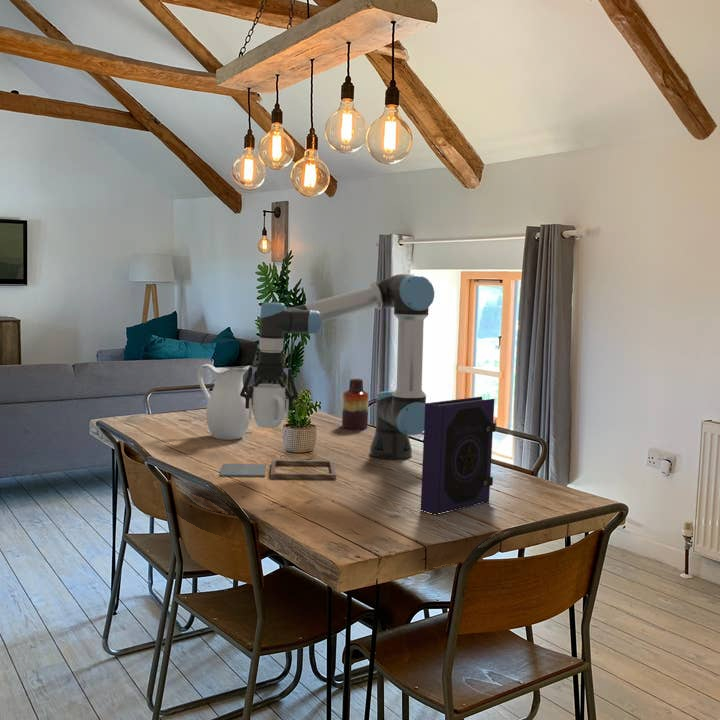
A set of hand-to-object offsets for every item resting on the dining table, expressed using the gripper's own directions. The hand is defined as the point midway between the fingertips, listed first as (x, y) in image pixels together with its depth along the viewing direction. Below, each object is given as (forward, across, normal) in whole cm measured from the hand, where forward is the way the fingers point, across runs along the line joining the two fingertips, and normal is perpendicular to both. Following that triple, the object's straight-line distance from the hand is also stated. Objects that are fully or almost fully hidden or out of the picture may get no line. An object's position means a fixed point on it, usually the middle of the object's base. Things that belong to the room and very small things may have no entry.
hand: (268, 419), depth 246 cm
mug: (+3, -1, 0) cm, 3 cm away
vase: (+16, -36, -76) cm, 85 cm away
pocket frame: (+17, -12, 0) cm, 21 cm away
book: (+16, -54, +37) cm, 67 cm away
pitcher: (+17, +19, -55) cm, 60 cm away
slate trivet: (+17, +7, 0) cm, 19 cm away
